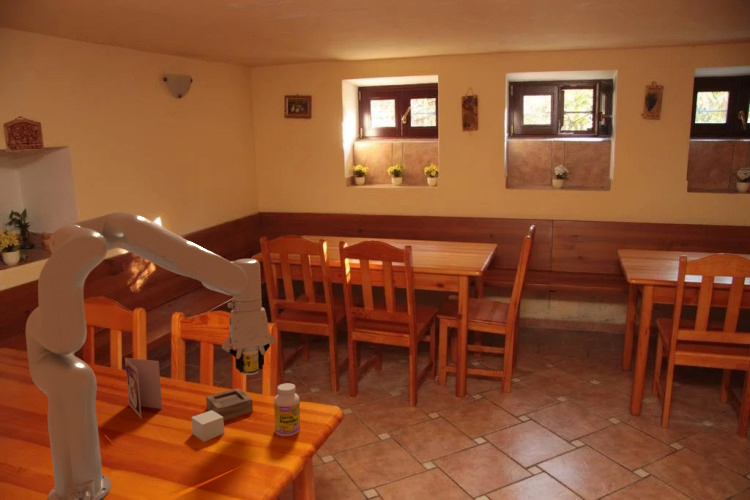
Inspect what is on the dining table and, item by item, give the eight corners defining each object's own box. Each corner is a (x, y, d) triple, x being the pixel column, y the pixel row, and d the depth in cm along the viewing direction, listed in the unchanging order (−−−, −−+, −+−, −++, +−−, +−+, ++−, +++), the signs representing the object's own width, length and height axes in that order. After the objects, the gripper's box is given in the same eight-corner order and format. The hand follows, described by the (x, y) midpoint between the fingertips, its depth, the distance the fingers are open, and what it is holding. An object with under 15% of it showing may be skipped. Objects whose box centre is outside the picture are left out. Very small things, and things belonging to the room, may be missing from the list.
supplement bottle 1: (237, 373, 163) (236, 343, 161) (249, 367, 167) (248, 339, 165) (250, 376, 160) (249, 346, 159) (262, 371, 164) (261, 341, 163)
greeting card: (126, 406, 175) (121, 358, 172) (151, 399, 180) (147, 352, 177) (138, 420, 166) (134, 369, 164) (164, 412, 171) (161, 363, 168)
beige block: (224, 434, 158) (223, 417, 157) (203, 442, 154) (202, 424, 153) (213, 427, 162) (211, 410, 161) (192, 434, 158) (191, 417, 157)
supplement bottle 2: (276, 439, 155) (274, 393, 152) (274, 428, 161) (272, 383, 159) (302, 436, 156) (300, 390, 154) (298, 424, 163) (297, 380, 160)
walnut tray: (253, 415, 169) (252, 399, 168) (218, 424, 164) (217, 408, 163) (240, 403, 177) (239, 388, 177) (207, 411, 172) (206, 396, 171)
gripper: (218, 312, 153) (222, 379, 156) (282, 304, 161) (284, 368, 164) (212, 305, 160) (216, 370, 163) (273, 298, 167) (275, 360, 170)
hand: (250, 368), depth 163 cm, fingers closed on supplement bottle 1, 4 cm apart
